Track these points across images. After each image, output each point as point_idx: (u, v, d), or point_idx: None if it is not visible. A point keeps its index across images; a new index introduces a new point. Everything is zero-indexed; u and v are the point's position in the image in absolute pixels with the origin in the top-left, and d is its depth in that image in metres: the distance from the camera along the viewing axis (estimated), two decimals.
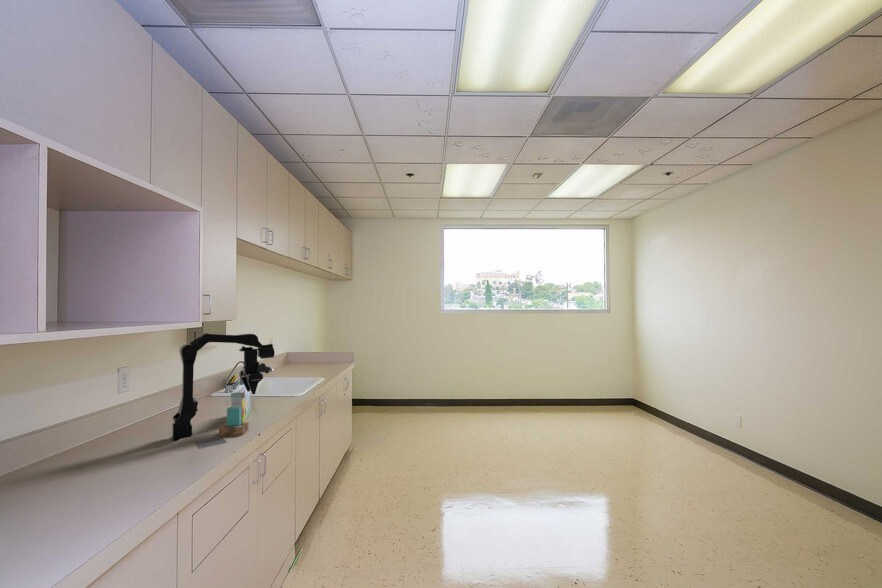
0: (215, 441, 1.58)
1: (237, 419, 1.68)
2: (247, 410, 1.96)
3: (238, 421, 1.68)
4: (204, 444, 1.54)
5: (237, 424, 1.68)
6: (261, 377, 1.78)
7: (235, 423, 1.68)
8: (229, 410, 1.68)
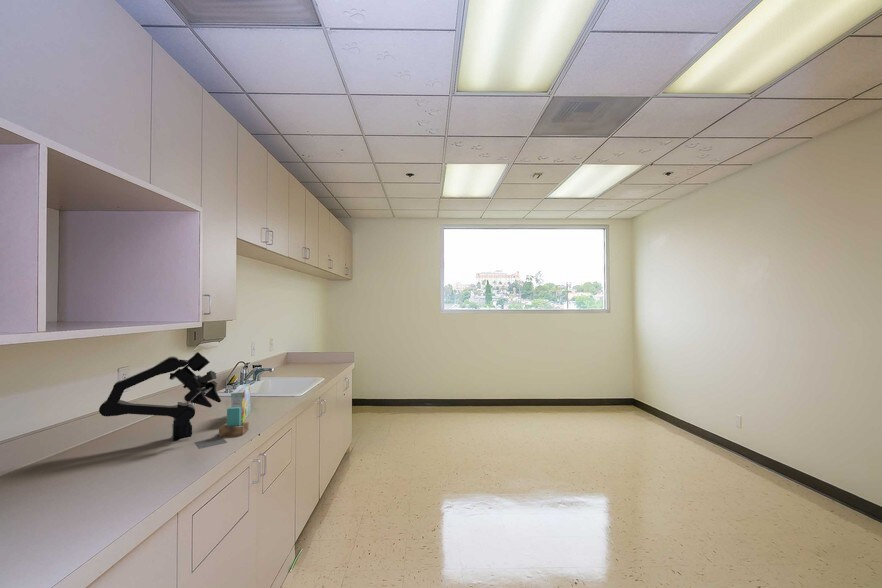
0: (215, 441, 1.58)
1: (237, 419, 1.68)
2: (247, 410, 1.96)
3: (238, 421, 1.68)
4: (204, 444, 1.54)
5: (237, 424, 1.68)
6: (196, 391, 1.58)
7: (235, 423, 1.68)
8: (229, 410, 1.68)
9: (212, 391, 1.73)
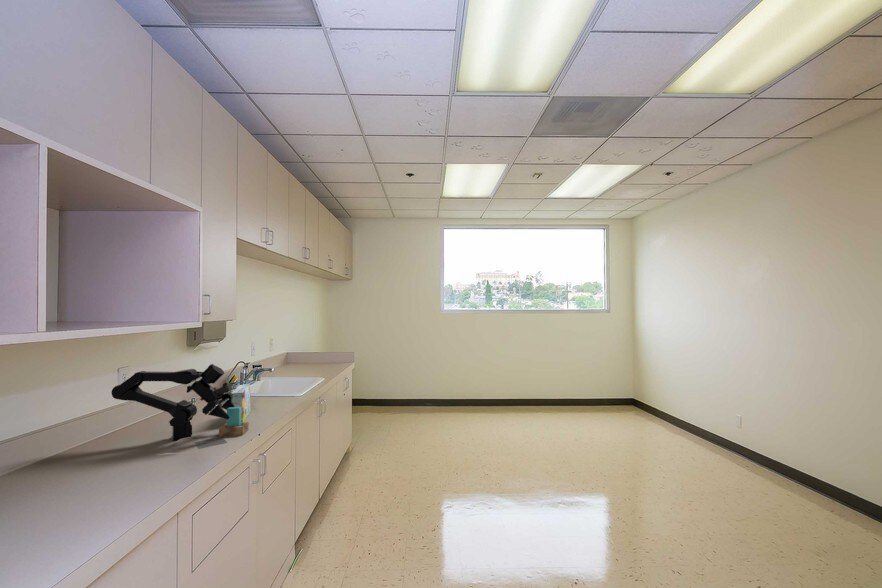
0: (215, 441, 1.58)
1: (237, 419, 1.68)
2: (247, 410, 1.96)
3: (238, 421, 1.68)
4: (204, 444, 1.54)
5: (237, 424, 1.68)
6: (213, 404, 1.59)
7: (235, 423, 1.68)
8: (229, 410, 1.68)
9: (228, 402, 1.73)
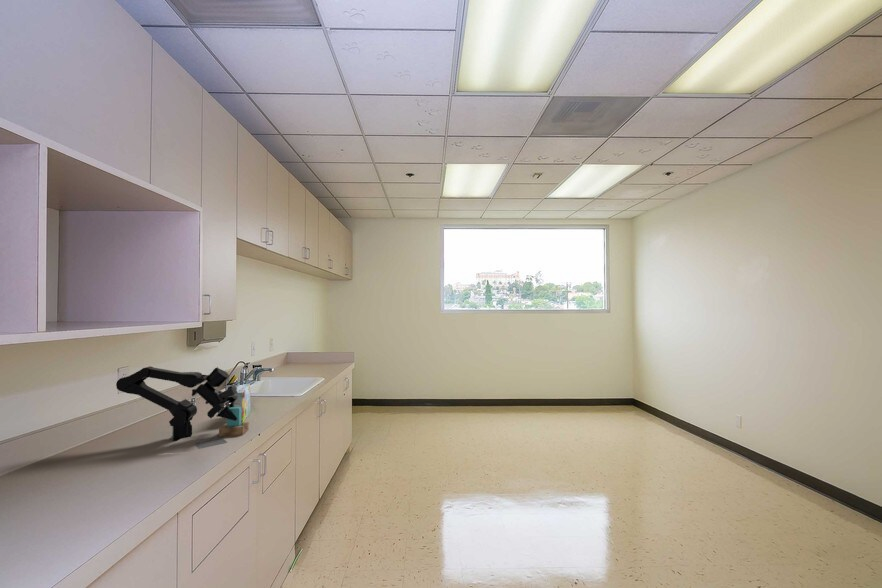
0: (215, 441, 1.58)
1: (237, 419, 1.68)
2: (247, 410, 1.96)
3: (238, 421, 1.68)
4: (204, 444, 1.54)
5: (237, 424, 1.68)
6: (218, 408, 1.60)
7: (235, 423, 1.68)
8: None
9: None
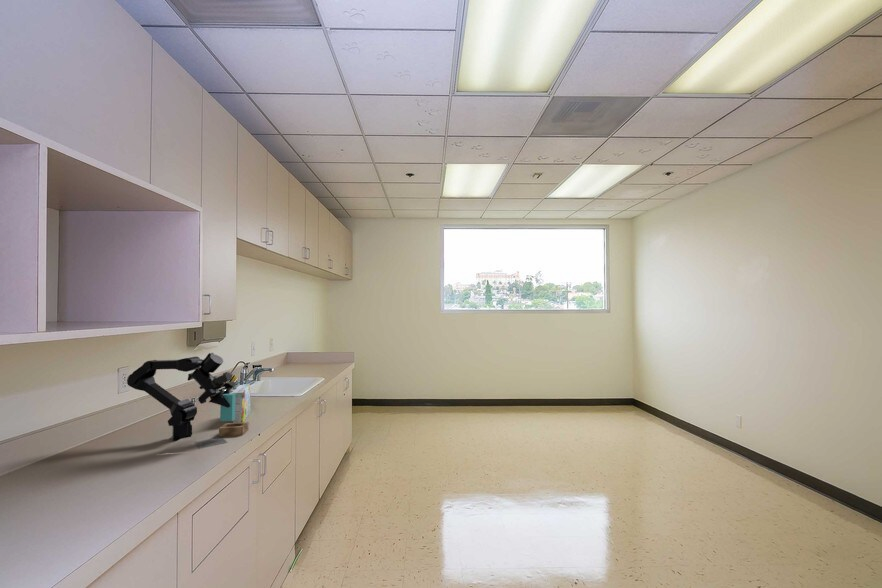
0: (215, 441, 1.58)
1: (230, 406, 1.64)
2: (247, 410, 1.96)
3: (231, 408, 1.64)
4: (204, 444, 1.54)
5: (230, 411, 1.64)
6: (209, 393, 1.56)
7: (228, 410, 1.64)
8: None
9: None
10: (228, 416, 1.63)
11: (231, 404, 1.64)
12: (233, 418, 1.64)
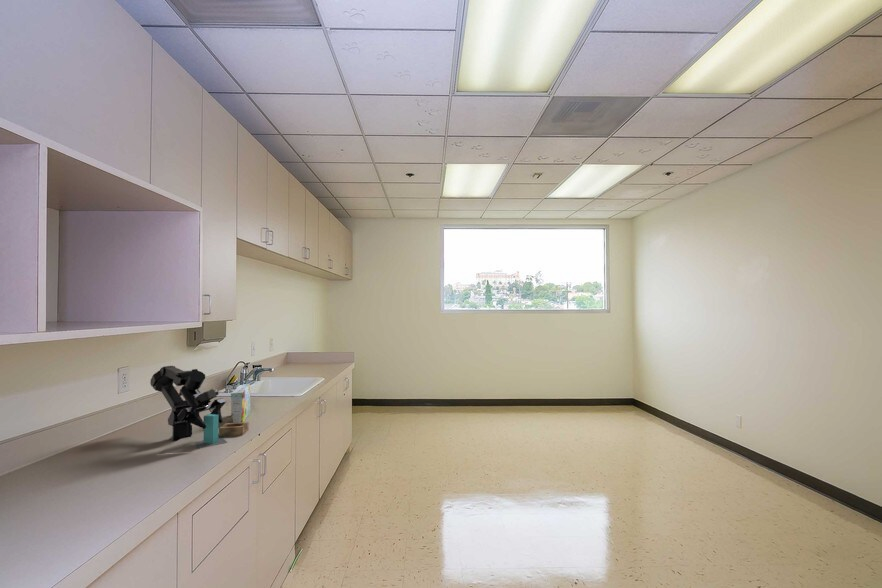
0: None
1: (211, 428, 1.56)
2: (247, 410, 1.96)
3: (212, 430, 1.56)
4: (204, 444, 1.54)
5: (211, 433, 1.56)
6: (185, 412, 1.50)
7: (210, 432, 1.56)
8: (205, 417, 1.57)
9: (215, 410, 1.62)
10: (210, 439, 1.56)
11: (212, 426, 1.56)
12: (214, 440, 1.56)
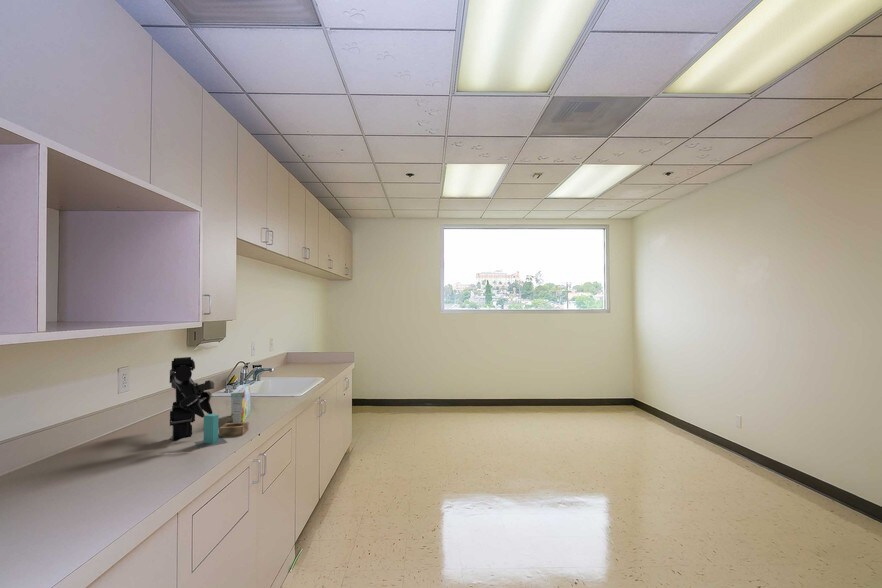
0: None
1: (211, 428, 1.56)
2: (247, 410, 1.96)
3: (212, 430, 1.56)
4: (204, 444, 1.54)
5: (211, 433, 1.56)
6: (193, 398, 1.54)
7: (210, 432, 1.56)
8: (205, 417, 1.57)
9: (205, 402, 1.68)
10: (210, 439, 1.56)
11: (212, 426, 1.56)
12: (214, 440, 1.56)
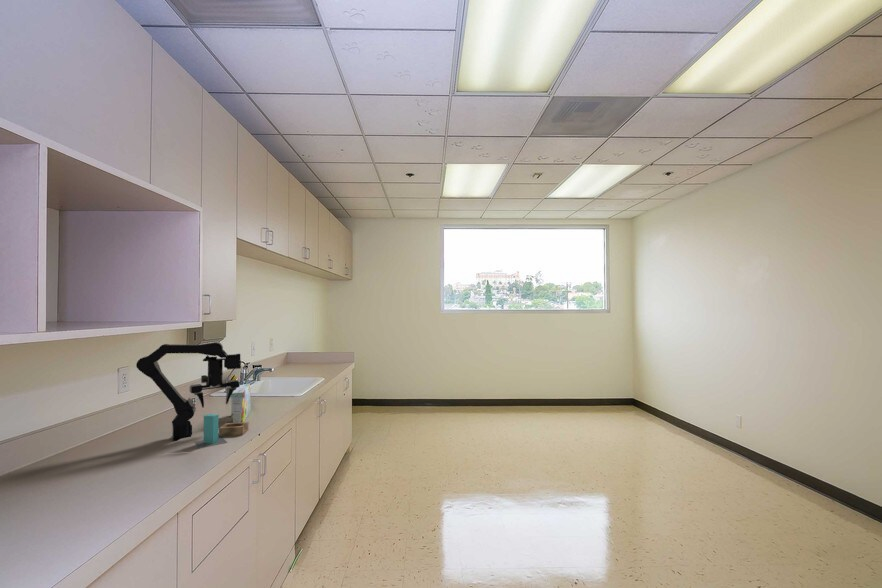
0: None
1: (211, 428, 1.56)
2: (247, 410, 1.96)
3: (212, 430, 1.56)
4: (204, 444, 1.54)
5: (211, 433, 1.56)
6: None
7: (210, 432, 1.56)
8: (205, 417, 1.57)
9: None
10: (210, 439, 1.56)
11: (212, 426, 1.56)
12: (214, 440, 1.56)
